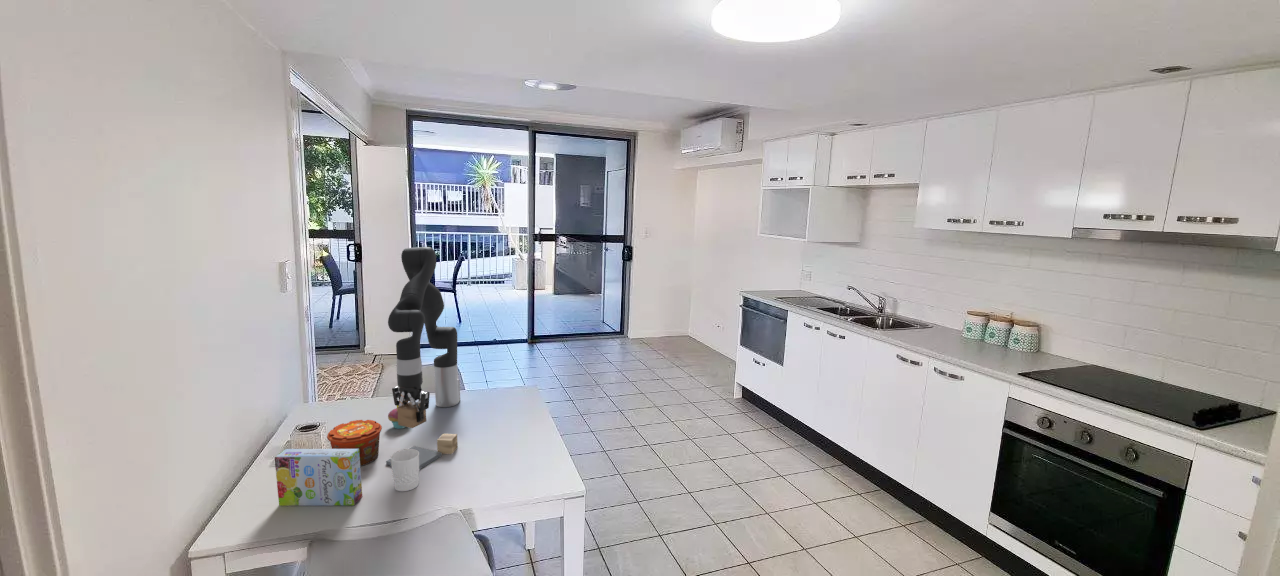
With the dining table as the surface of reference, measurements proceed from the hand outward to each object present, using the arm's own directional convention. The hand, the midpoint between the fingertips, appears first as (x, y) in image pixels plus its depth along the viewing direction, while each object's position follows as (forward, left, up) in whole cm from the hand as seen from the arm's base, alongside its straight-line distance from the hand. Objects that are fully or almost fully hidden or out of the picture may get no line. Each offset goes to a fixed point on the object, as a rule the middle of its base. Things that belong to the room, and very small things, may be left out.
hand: (412, 419), depth 175 cm
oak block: (-10, +5, -14) cm, 18 cm away
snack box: (+29, -6, -15) cm, 33 cm away
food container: (+7, -18, -15) cm, 24 cm away
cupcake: (-18, -25, -14) cm, 34 cm away
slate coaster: (0, 0, -14) cm, 14 cm away
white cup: (+13, +10, -14) cm, 22 cm away
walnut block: (0, 0, -1) cm, 1 cm away
